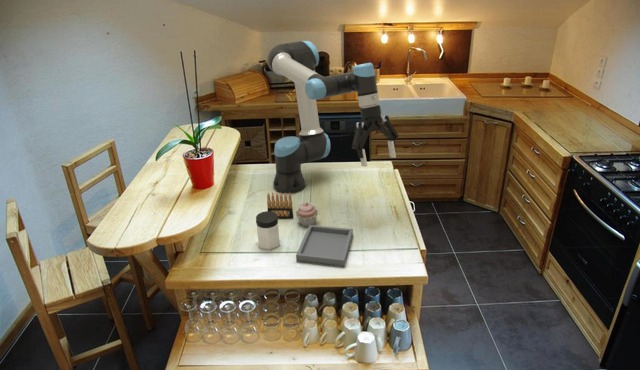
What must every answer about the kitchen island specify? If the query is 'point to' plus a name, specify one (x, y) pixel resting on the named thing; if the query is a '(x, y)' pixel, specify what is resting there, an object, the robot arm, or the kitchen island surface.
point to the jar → (267, 230)
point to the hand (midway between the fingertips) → (379, 161)
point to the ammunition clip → (280, 206)
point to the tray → (325, 246)
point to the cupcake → (307, 214)
